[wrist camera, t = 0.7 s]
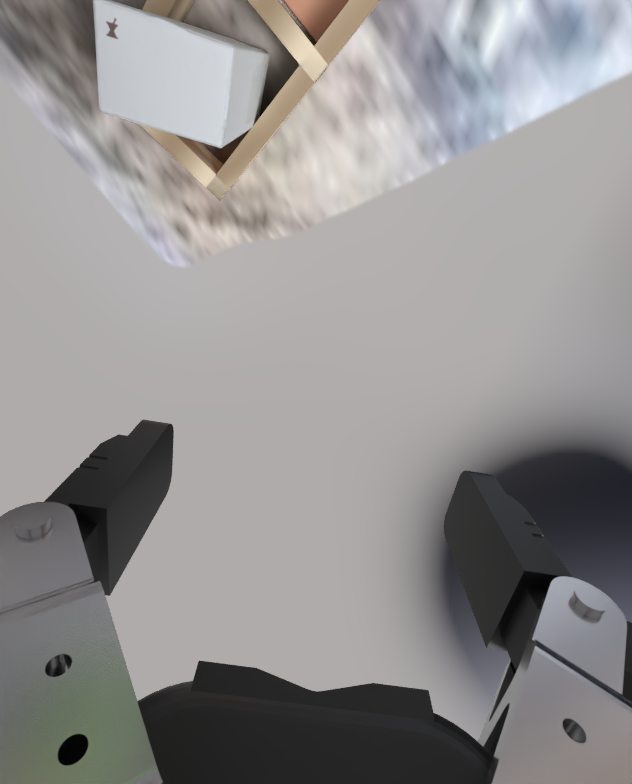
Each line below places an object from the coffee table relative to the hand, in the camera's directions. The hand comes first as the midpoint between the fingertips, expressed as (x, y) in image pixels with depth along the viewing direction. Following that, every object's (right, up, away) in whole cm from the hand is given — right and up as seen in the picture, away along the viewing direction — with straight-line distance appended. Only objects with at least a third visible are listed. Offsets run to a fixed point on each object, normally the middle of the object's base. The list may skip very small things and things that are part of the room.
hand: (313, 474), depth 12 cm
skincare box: (-6, +24, +17) cm, 29 cm away
